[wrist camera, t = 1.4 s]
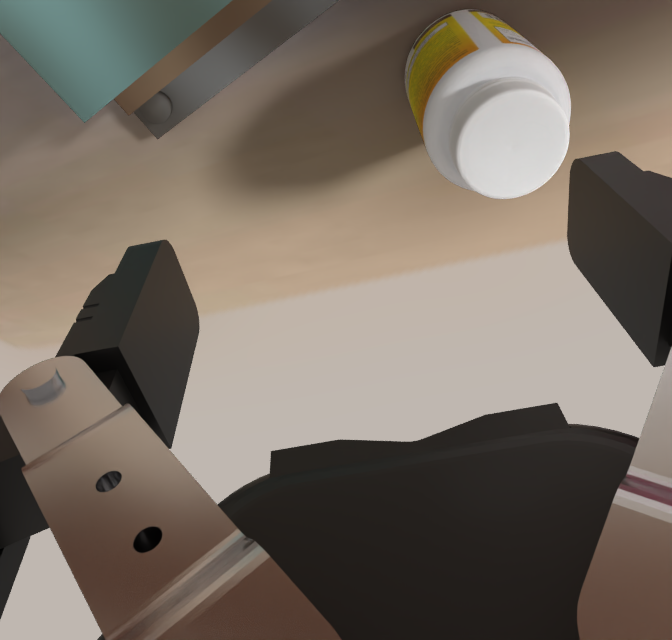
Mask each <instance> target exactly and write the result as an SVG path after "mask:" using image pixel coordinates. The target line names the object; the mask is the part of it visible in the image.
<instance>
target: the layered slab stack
mask: <svg viewBox="0 0 672 640" xmlns="http://www.w3.org/2000/svg"><path fill="white" fill-rule="evenodd" d="M337 1H339V0H0V34H1V35H2V36H3V37H4V38H5V39H6V40H7V41H8V42H9V43H10V44H11V45H12V46H13V48H14V49H15V50H16V51H17V52H18V53H19V54H20V55H21V56H22V57H23V58H24V59H25V60H26V61H27V62H28V63H29V65H30V66H31V67H32V68H33V69H34V70H35V71H36V72H37V73H38V74H39V75H40V76H41V77H42V78H43V79H44V80H45V81H46V83H47V84H48V85H49V86H50V87H51V88H52V89H53V90H54V91H55V92H56V93H57V94H58V95H59V96H60V97H61V98H62V100H63V101H64V102H65V103H66V104H67V105H68V106H69V107H70V108H71V109H72V110H73V111H74V112H75V113H76V114H77V115H78V117H79V118H80V119H81V120H82V121H83V122H84V123H85V122H86V121H87V120H89V119H90V118H91V117H92V116H93V115H95V114H96V113H97V112H98V111H99V110H101V109H102V108H103V107H104V106H105V105H107V104H108V103H109V102H110V101H112V100H113V99H114V100H115V101H116V102H117V103H118V104H119V105H120V107H121V108H122V109H123V110H124V111H125V112H126V113H127V114H128V116H129V115H130V114H131V113H133V112H134V113H135V114H136V115H137V116H138V118H139V119H140V120H141V121H142V122H143V123H144V124H145V126H146V127H147V128H148V129H149V130H150V131H151V132H152V134H153V135H154V136H155V137H156V138H157V139H159V138H160V137H161V136H163V135H164V134H165V133H166V132H168V131H169V130H170V129H172V128H173V127H174V126H176V125H177V124H178V123H179V122H181V121H182V120H183V119H185V118H186V117H187V116H189V115H190V114H191V113H193V112H194V111H195V110H196V109H198V108H199V107H200V106H202V105H203V104H204V103H206V102H207V101H208V100H209V99H211V98H212V97H213V96H215V95H216V94H217V93H219V92H220V91H221V90H223V89H224V88H225V87H226V86H228V85H229V84H230V83H232V82H233V81H234V80H236V79H237V78H238V77H239V76H241V75H242V74H243V73H245V72H246V71H247V70H249V69H250V68H251V67H253V66H254V65H255V64H256V63H258V62H259V61H260V60H262V59H263V58H264V57H266V56H267V55H268V54H269V53H271V52H272V51H273V50H275V49H276V48H277V47H279V46H280V45H281V44H283V43H284V42H285V41H286V40H288V39H289V38H290V37H292V36H293V35H294V34H296V33H297V32H298V31H299V30H301V29H302V28H303V27H305V26H306V25H307V24H309V23H310V22H311V21H312V20H314V19H315V18H316V17H318V16H319V15H320V14H322V13H323V12H324V11H326V10H327V9H328V8H329V7H331V6H332V5H333V4H335V3H336V2H337Z"/></svg>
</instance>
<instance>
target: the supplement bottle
mask: <svg viewBox="0 0 672 640" xmlns="http://www.w3.org/2000/svg"><path fill="white" fill-rule="evenodd" d="M405 89H406V94H407V97H408V100H409V103H410V106H411V109H412V111H413V114H414V117H415V120H416V123H417V125H418V128H419V131H420V134H421V136H422V139H423V142H424V144H425V147H426V150H427V152H428V155H429V157H430V159H431V161H432V163H433V164H434V165H435V167H436V168H437V170H438V171H439V172H440V173H441V174H442V175H443V176H444V177H445V178H446V179H448V180H449V181H450V182H452V183H454V184H455V185H458V186H460V187H462V188H465V189H468V190H472V191H475V192H477V193H479V194H481V195H484V196H486V197H490V198H494V199H511V198H516V197H520V196H523V195H526V194H528V193H530V192H533V191H534V190H536V189H538V188H539V187H541V186H542V185H543V184H545V183H546V182H547V181H548V180H549V179H550V178H551V177H552V176H553V175H554V174H555V172H556V171H557V170H558V168H559V167H560V165H561V164H562V162H563V160H564V158H565V155H566V153H567V149H568V145H569V137H570V133H569V122H570V116H571V99H570V92H569V89H568V86H567V83H566V81H565V79H564V77H563V75H562V73H561V72H560V70H559V69H558V68H557V66H556V65H555V64H554V63H553V62H552V61H551V60H550V59H549V58H548V57H547V56H546V55H544V54H543V53H542V52H541V51H539V50H538V49H537V48H536V47H535V46H533V45H532V44H531V43H530V42H529V41H528V40H526V39H525V38H524V37H523V36H522V35H520V34H519V33H518V32H517V31H515V30H514V29H513V28H511V27H510V26H509V25H508V24H506V23H505V22H504V21H503V20H501V19H500V18H498V17H497V16H495V15H493V14H491V13H488V12H485V11H481V10H473V9H466V10H459V11H455V12H452V13H449V14H446V15H444V16H442V17H441V18H439V19H437V20H436V21H434V22H433V23H432V24H430V25H429V26H428V27H427V28H426V29H425V30H424V31H423V32H422V33H421V34H420V36H419V37H418V38H417V40H416V41H415V43H414V44H413V46H412V48H411V51H410V53H409V56H408V59H407V63H406V68H405Z"/></svg>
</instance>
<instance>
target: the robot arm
mask: <svg viewBox="0 0 672 640" xmlns="http://www.w3.org/2000/svg"><path fill="white" fill-rule="evenodd" d="M567 238H568V245H569V250H570V254H571V257H572V260H573V261H574V263H575V264H576V266H577V267H578V269H579V270H580V271H581V273H582V274H583V275H584V277H585V278H586V279H587V281H588V282H589V283H590V284H591V286H592V287H593V288H594V290H595V291H596V292H597V294H598V295H599V296H600V298H601V299H602V300H603V302H604V303H605V304H606V305H607V307H608V308H609V309H610V311H611V312H612V313H613V315H614V316H615V317H616V319H617V320H618V321H619V322H620V324H621V325H622V326H623V328H624V329H625V330H626V332H627V333H628V334H629V335H630V337H631V338H632V340H633V341H634V342H635V344H636V345H637V346H638V347H639V349H640V350H641V351H642V353H643V354H644V355H645V357H646V358H647V359H648V360H649V362H650V363H651V365H652V366H653V367H658V366H663V365H665V367H664V370H663V373H662V376H661V378H660V381H659V384H658V387H657V390H656V393H655V396H654V398H653V402H652V404H651V407H650V410H649V413H648V416H647V418H646V421H645V424H644V427H643V430H642V433H641V436H640V438H637V437H635V436H632V435H629V434H625V433H622V432H619V431H615V430H610V429H606V428H601V427H596V426H587V425H579V424H568V423H567V421H566V419H565V417H564V415H563V413H562V411H561V409H560V407H559V406H558V404H557V403H553V404H547V405H541V406H535V407H529V408H523V409H517V410H512V411H505V412H500V413H494V414H488V415H484V416H481V417H479V418H476V419H473V420H471V421H468V422H466V423H463V424H460V425H458V426H455V427H453V428H450V429H447V430H445V431H442V432H440V433H437V434H434V435H432V436H430V437H427V438H424V439H421V440H418V441H413V442H397V441H395V442H394V441H367V440H335V441H329V442H323V443H317V444H311V445H305V446H299V447H294V448H288V449H281V450H275V451H271V462H270V474H267V475H265V476H263V477H260V478H258V479H256V480H254V481H252V482H250V483H248V484H246V485H245V486H243V487H242V488H240V489H238V490H237V491H235V492H234V493H232V494H231V495H229V496H228V497H227V498H225V499H224V500H223V501H221V502H220V503H219V504H218V505H217V504H216V503H215V502H214V501H213V499H212V498H211V497H210V496H209V495H208V493H207V492H206V491H205V490H204V489H203V488H202V487H201V485H200V484H199V483H198V482H197V481H196V480H195V479H194V477H193V476H192V475H191V474H190V473H189V472H188V471H187V469H186V468H185V467H184V466H183V465H182V464H181V463H180V461H179V460H178V459H177V458H176V457H175V456H174V454H173V453H172V452H171V451H170V450H169V449H171V447H172V443H173V439H174V434H175V430H176V426H177V422H178V418H179V414H180V410H181V405H182V401H183V397H184V393H185V389H186V385H187V380H188V376H189V372H190V368H191V364H192V359H193V355H194V351H195V347H196V343H197V339H198V334H199V316H198V311H197V308H196V304H195V302H194V299H193V297H192V294H191V292H190V289H189V286H188V284H187V281H186V279H185V276H184V274H183V271H182V269H181V266H180V264H179V261H178V259H177V256H176V254H175V252H174V249H173V247H172V246H171V244H170V243H169V242H168V241H167V240H160V241H155V242H150V243H145V244H140V245H135V246H130V247H128V249H127V250H126V252H125V254H124V256H123V258H122V260H121V262H120V264H119V266H118V268H117V270H116V272H115V274H110V275H108V276H107V277H106V278H105V279H104V280H103V281H102V282H100V283H99V284H98V285H97V286H96V287H95V288H94V289H93V290H92V291H91V292H90V294H89V296H88V298H87V300H86V302H85V303H84V305H83V309H81V311H80V313H79V314H78V316H77V318H76V323H74V324H73V325H72V327H71V329H70V331H69V333H68V335H67V336H66V338H65V340H64V342H63V344H62V346H61V347H60V349H59V351H58V353H57V355H56V357H55V358H51V359H48V360H45V361H42V362H40V363H38V364H35V365H33V366H31V367H29V368H28V369H26V370H24V371H23V372H21V373H20V374H18V375H17V376H16V377H14V378H13V379H12V380H11V381H10V382H9V383H8V384H7V385H6V386H5V387H4V389H3V390H2V391H1V393H0V619H1V616H2V613H3V611H4V608H5V605H6V603H7V600H8V597H9V594H10V592H11V589H12V586H13V583H14V581H15V578H16V575H17V573H18V570H19V567H20V564H21V562H22V559H23V556H24V553H25V550H26V548H27V545H28V543H29V539H30V536H31V535H34V534H36V533H38V532H41V531H43V530H45V529H47V528H50V529H51V531H52V533H53V535H54V537H55V539H56V541H57V543H58V545H59V547H60V549H61V551H62V553H63V555H64V557H65V559H66V561H67V563H68V565H69V567H70V569H71V571H72V573H73V575H74V578H75V579H76V582H77V584H78V586H79V588H80V590H81V592H82V594H83V595H84V598H85V600H86V602H87V603H88V605H89V607H90V610H91V611H92V614H93V616H94V618H95V620H96V622H97V624H98V626H99V628H100V630H101V632H102V635H101V636H100V637H99V638H98V640H672V178H670V177H666V176H663V175H660V174H657V173H654V172H651V171H642V170H641V169H640V168H638V167H637V166H636V165H635V164H633V163H632V162H631V161H629V160H628V159H627V158H626V157H624V156H623V155H622V154H620V153H619V152H616V151H615V152H610V153H605V154H599V155H594V156H589V157H584V158H579V159H575V160H574V161H573V163H572V166H571V170H570V183H569V206H568V229H567Z"/></svg>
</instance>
